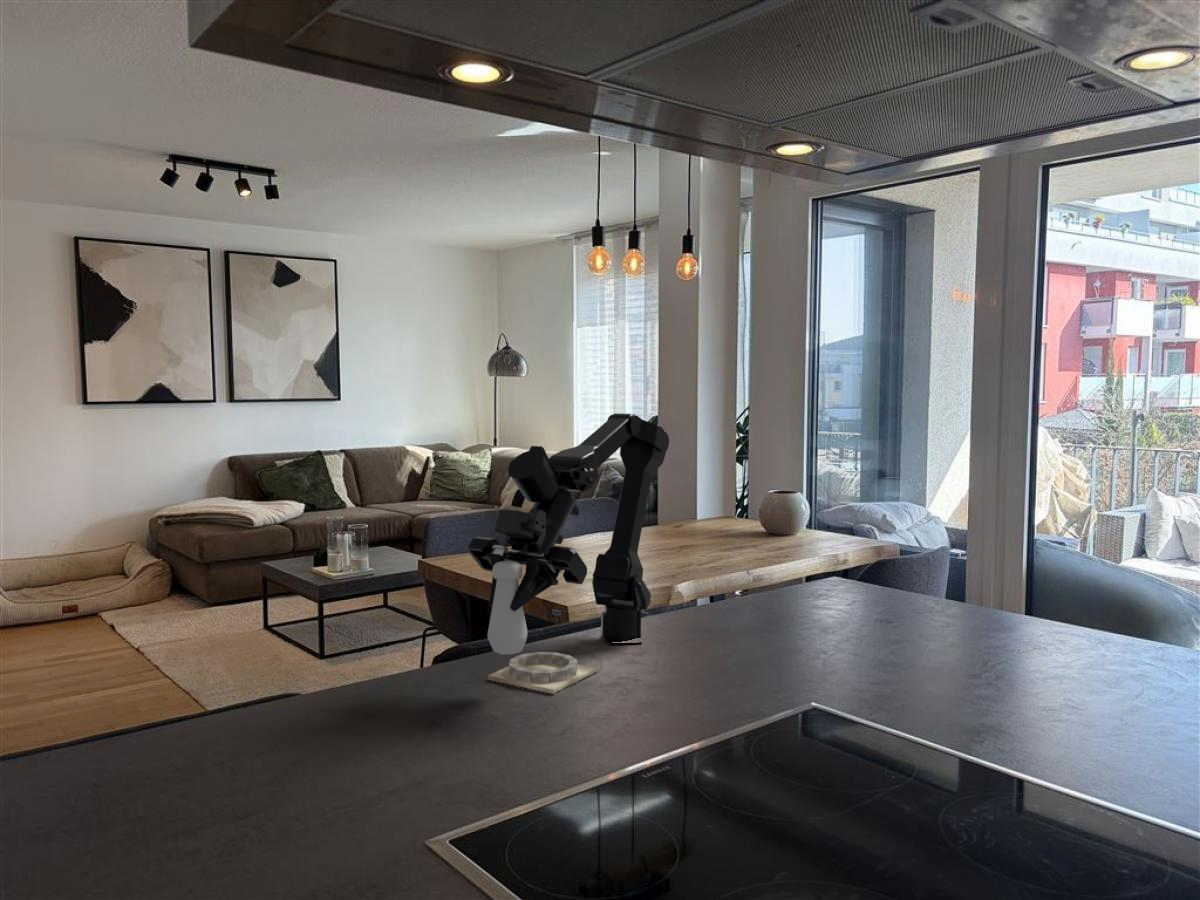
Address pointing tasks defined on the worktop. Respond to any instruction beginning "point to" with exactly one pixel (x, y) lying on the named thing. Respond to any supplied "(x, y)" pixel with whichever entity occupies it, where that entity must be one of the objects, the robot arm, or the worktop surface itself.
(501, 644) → the salt shaker
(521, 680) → the ring stand
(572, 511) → the robot arm
